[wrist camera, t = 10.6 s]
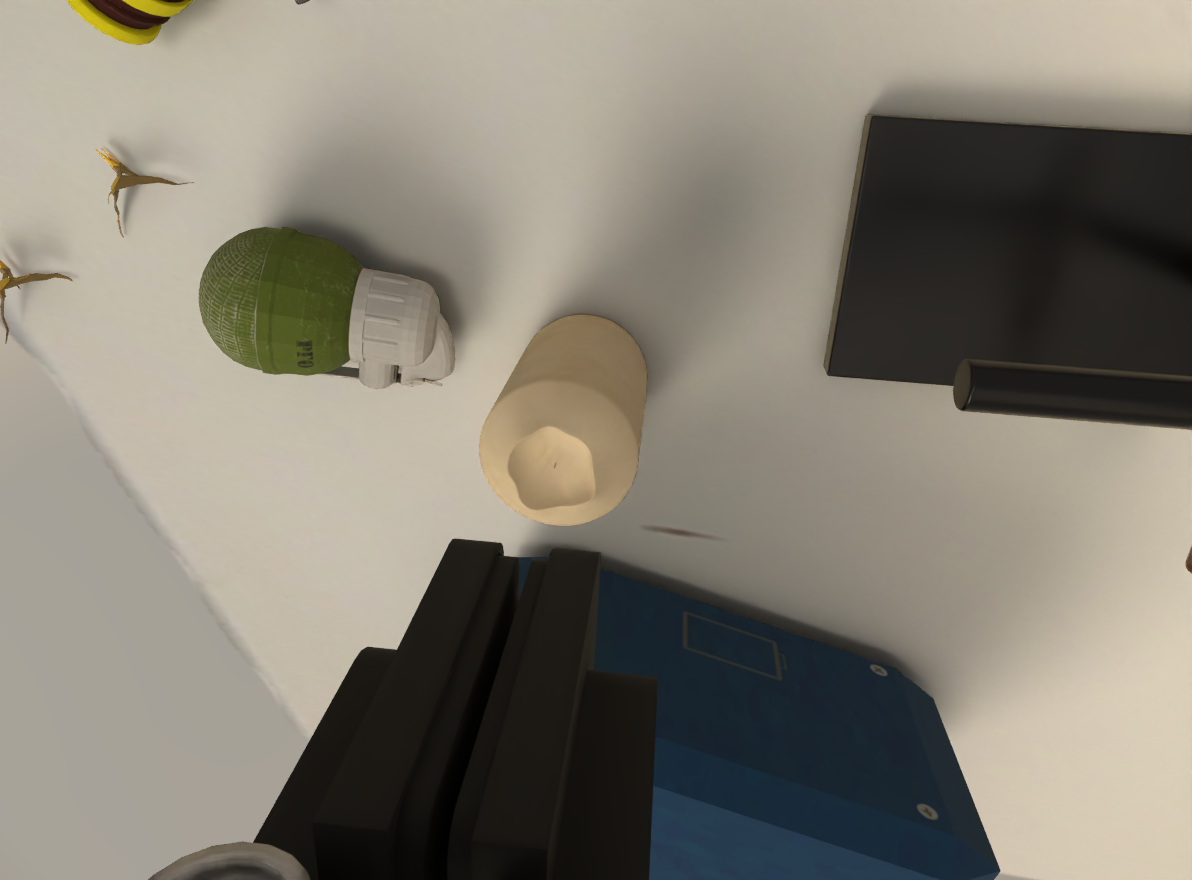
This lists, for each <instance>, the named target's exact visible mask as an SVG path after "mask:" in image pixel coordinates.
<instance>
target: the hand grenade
mask: <svg viewBox="0 0 1192 880" xmlns="http://www.w3.org/2000/svg"><path fill="white" fill-rule="evenodd" d="M199 306H200V312H201V316H202V320H203V323H204V325H205V327H206V329H207V331H208V333H209V334H210V336H211V338H212V339H213V341H214V342H215V343H216V345H217V346H218V347H219V348H220V349H221V350H222V352H223V353H225V354H226V355H227V356H229V357H230V358H231V359H233V360H234V361H236V362H238V363H240V364H242V365H244V366H246V367H250V368H254V369H258V370H262V371H263V373H269V374H275V375H276V374H284V373H285V374H298V375H307V376H308V375H314V374H321V375H329V376H337V377H346V378H354V379H359V380H360V382H361V383H362V384H363V385H365V386H367V387H370V388H376V389H379V388H386V387H388V386H390V385H391V384H393V383H396V384H401V385H405V386H411V387H412V386H416V385H420V384H424V383H430V384H434V385H438V386H442V384H441V383H437V382H434V381H436V380H440V379H443V378H445V377H447V376H449V375H450V374H451V373H452V372H453V370H454V365H455V348H454V343H453V337H452V333H451V331H450V328H449V326H448V323H447V322H446V321H445V319H444V318H443V316H442V315H441V313H440V306H439V300H438V297H437V295H436V292H435V290H434V288H432V287H431V286H430V285H429V284H428V283H426V282H424V281H421V280H418V279H412V278H410V277H409V276H406V275H400V274H394V273H388V272H382V271H377V270H371V269H365V268H363V267H362V266H361V265H360V263H359V262H358V261H357V260H356V259H355V257H354V256H352V255H351V254H350V253H349V252H347V251H346V250H345V249H344V248H342V247H341V246H339V245H337V244H335V243H333V242H331V241H329V240H327V239H324V238H319V237H314V236H310V235H307V234H304V233H302V232H299V231H298V230H296V229H292V228H287V227H282V228H281V229H279V228H267V227H264V228H257V229H251V230H248V231H245V232H243V233H240V234H238V235H236V236H235V237H233V238H232V239H230V240H229V241H227V242H226V243H225V244H223V245H222V246H221V247H220V248H219V249H218V250H217V251H216V252H215V253H214V254H213V255H212V257H211V259H210V260H209V262H208V264H207V266H206V268H205V270H204V272H203V274H202V278H201V282H200V289H199ZM350 359H351V360H354V361H360V362H359V369H358V368H350V367H341V366H342V365H344V364H345V363H347V362H348V361H349V360H350ZM399 366H402V373H401V374H400V373H398V370H399Z"/></svg>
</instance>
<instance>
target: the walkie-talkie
mask: <svg viewBox="0 0 1192 880" xmlns="http://www.w3.org/2000/svg"><path fill="white" fill-rule="evenodd" d="M295 1H296V3H297V4H303V3H306V2H308V1H309V0H295Z"/></svg>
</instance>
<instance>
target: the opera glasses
mask: <svg viewBox="0 0 1192 880" xmlns="http://www.w3.org/2000/svg"><path fill="white" fill-rule="evenodd" d="M192 1H193V0H67V2H68V3H69V4H70V6H71V7H72V8H73V9H74V10H75V11H76V12H77V13H78V14H79V15H80V16H81V17H82V18H83V19H84V20H85V21H87V22H88V23H90V24H91V25H93V26H94V27H95V28H97V29H98V30H100V31H101V32H103V33H104V34H107V35H109V36H111V37H113V38H115V39H117V40H119V41H122V42H126V43H129V44H136V45H142V44H147V43H150V42H151V41H152V40H154V39H155V38H156V36H157V35H158V33H159V32H160V29H161V24H164V23H165V22H167V21H168V20H169V18H170V16H173V15H176V14H178V13H179V12H180V11H182V10H183V9H184V8H185V7H187V6H188V5H189V4H190V3H191V2H192Z"/></svg>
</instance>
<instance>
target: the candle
mask: <svg viewBox="0 0 1192 880" xmlns="http://www.w3.org/2000/svg"><path fill="white" fill-rule="evenodd" d="M646 391H647V369H646V364H645V360H644V358H643V355H642V353H641V351H640V349H639V347H638V345H637V343H636V342H635V341H634V339H633V338H632V337H631V336H630V335H629V334H628V333H627V332H626V331H625V330H624V329H623V328H621V327H620V326H618V325H617V324H615V323H614V322H611V321H609V320H607V319H604V318H601V317H598V316H593V315H572V316H567V317H564V318H561V319H558V320H556V321H554V322H552V323H550V324H548V325H547V326H546V327H544V328H543V329H541V330H540V331H539V332H538V333H537V334H536V335H535V336H534V338H533V339H532V340H531V342H530V343H529V345H528V346H527V348H526V349H525V351H524V353H523V355H522V356H521V358H520V360H519V362H518V363H517V365H516V367H515V369H514V371H513V372H512V374H511V376H510V378H509V379H508V381H507V383H506V385H505V386H504V388H503V390H502V392H501V394H500V395H499V397H498V399H497V401H496V402H495V404H494V406H493V408H492V410H491V411H490V413H489V415H488V417H487V419H486V421H485V423H484V426H483V429H482V432H481V436H480V445H479V449H480V460H481V465H482V468H483V472H484V474H485V477H486V479H487V481H488V483H489V484H490V486H491V488H492V489H493V491H494V492H495V493H496V494H497V496H498V497H499V498H500V499H501V500H502V501H503V502H504V503H505V504H506V505H507V506H509V507H510V508H511V509H513V510H514V511H516V512H517V513H519V514H521V515H522V516H524V517H527V518H529V519H531V520H534V521H537V522H540V523H544V524H549V525H558V526H569V525H578V524H583V523H587V522H590V521H593V520H595V519H597V518H600V517H602V516H603V515H605V514H607V513H608V512H610V511H611V510H612V509H614V508H615V507H616V506H617V505H618V504H619V503H620V502H621V501H622V500H623V499H624V497H625V496H626V494H627V493H628V492H629V490H630V488H631V486H632V484H633V482H634V479H635V476H636V472H637V467H638V460H639V451H640V443H641V434H642V426H643V417H644V408H645V400H646Z"/></svg>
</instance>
